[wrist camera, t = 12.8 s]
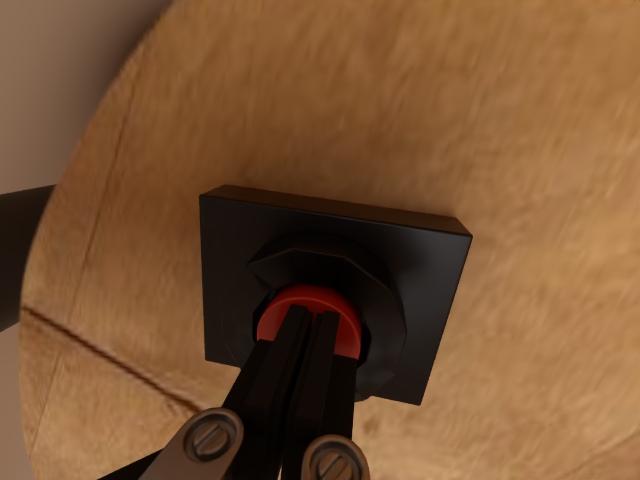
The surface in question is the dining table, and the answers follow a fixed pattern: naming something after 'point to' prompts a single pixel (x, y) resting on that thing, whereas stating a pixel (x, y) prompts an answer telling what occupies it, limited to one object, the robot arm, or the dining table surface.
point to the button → (315, 314)
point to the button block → (332, 277)
